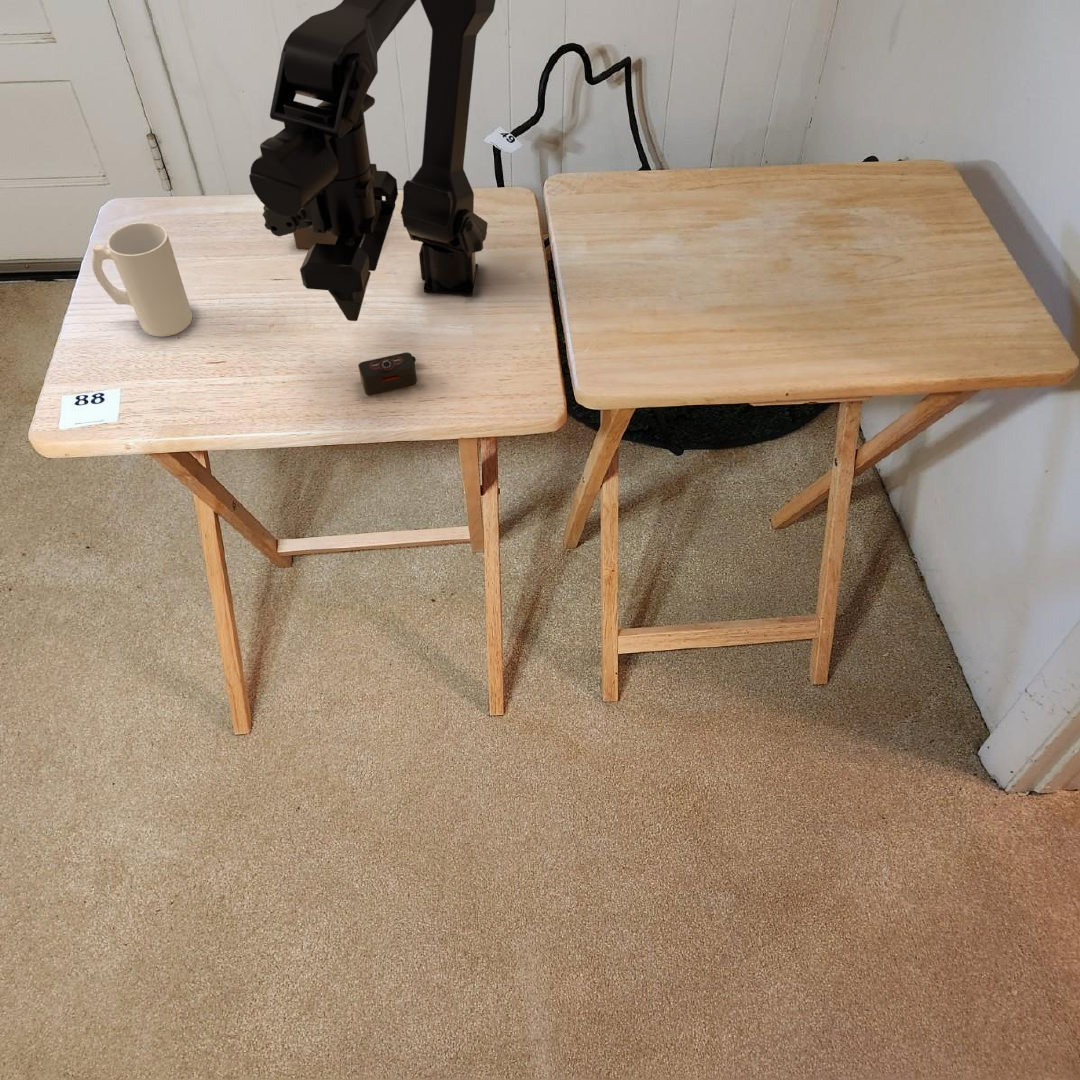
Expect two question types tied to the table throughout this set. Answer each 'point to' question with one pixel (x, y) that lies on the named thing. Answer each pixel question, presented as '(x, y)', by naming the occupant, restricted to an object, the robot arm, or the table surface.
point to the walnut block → (312, 238)
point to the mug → (146, 277)
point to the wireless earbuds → (388, 373)
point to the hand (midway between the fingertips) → (362, 294)
